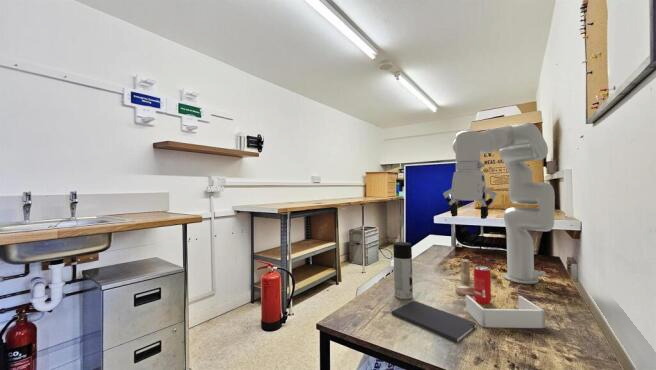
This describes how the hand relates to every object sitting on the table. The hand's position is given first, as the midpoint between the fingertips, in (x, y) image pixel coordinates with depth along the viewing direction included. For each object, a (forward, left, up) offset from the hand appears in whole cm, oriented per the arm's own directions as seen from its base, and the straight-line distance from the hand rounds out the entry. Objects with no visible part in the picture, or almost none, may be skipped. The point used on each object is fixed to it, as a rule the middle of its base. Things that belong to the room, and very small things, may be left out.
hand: (468, 217), depth 93 cm
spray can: (+21, -8, -31) cm, 38 cm away
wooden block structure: (-6, -15, -31) cm, 35 cm away
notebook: (+16, +10, -31) cm, 36 cm away
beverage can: (-6, -4, -31) cm, 32 cm away
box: (-6, +8, -31) cm, 32 cm away
